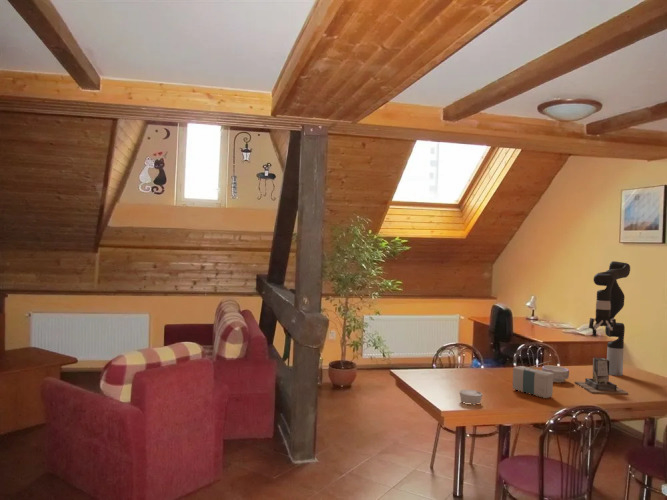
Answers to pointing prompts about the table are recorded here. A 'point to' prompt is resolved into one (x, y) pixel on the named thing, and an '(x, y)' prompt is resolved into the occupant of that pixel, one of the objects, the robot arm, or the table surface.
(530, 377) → the stereo radio cassette player
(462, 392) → the ramekin
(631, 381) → the table surface
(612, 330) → the robot arm
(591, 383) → the collar board
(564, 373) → the paper bowls
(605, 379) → the coffee box
